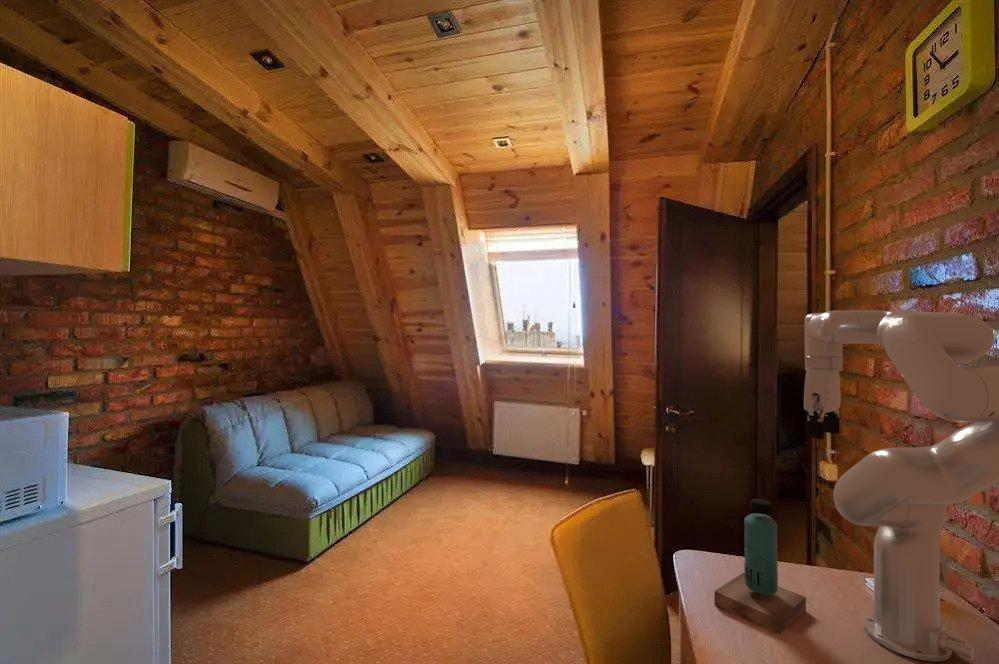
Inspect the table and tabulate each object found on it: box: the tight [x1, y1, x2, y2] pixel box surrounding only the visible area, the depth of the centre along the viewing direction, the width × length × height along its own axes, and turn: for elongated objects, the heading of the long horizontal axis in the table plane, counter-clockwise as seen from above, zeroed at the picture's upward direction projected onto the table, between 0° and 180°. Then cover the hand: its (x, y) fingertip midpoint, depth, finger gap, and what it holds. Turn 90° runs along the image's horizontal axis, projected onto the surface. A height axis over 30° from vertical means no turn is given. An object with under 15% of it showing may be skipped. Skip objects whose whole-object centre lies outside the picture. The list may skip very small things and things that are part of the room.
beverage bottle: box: [743, 498, 779, 595], centre depth 101 cm, size 6×7×20 cm
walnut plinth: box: [714, 572, 807, 636], centre depth 101 cm, size 13×13×3 cm
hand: (824, 435), depth 113 cm, fingers open, 9 cm apart
